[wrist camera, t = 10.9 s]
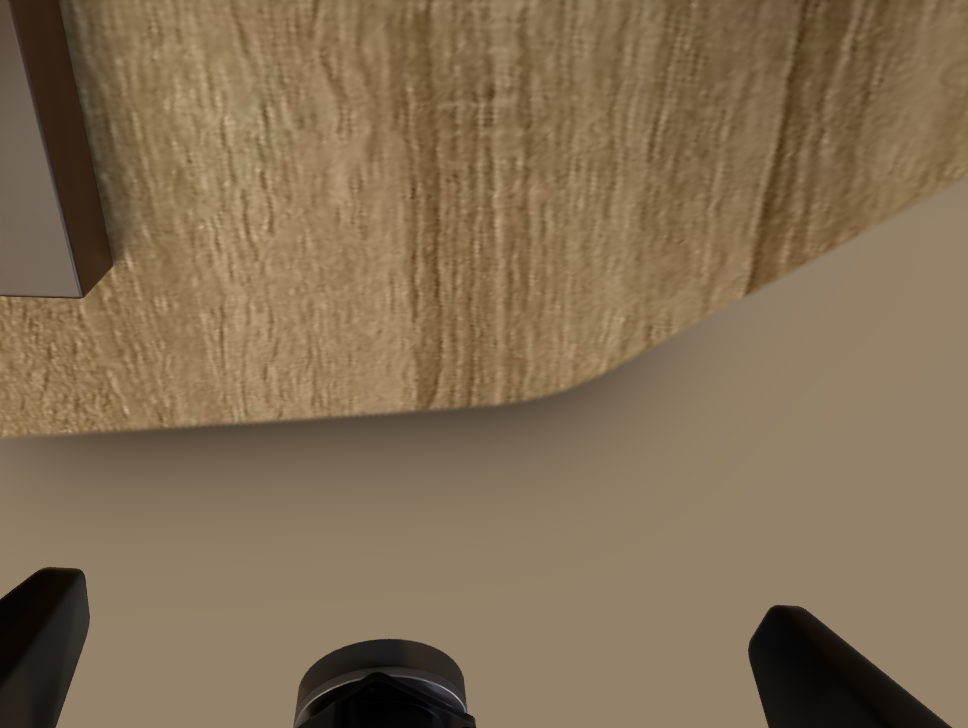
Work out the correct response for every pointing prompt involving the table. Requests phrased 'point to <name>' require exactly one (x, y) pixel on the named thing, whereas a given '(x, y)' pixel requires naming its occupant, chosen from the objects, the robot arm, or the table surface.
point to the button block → (45, 163)
